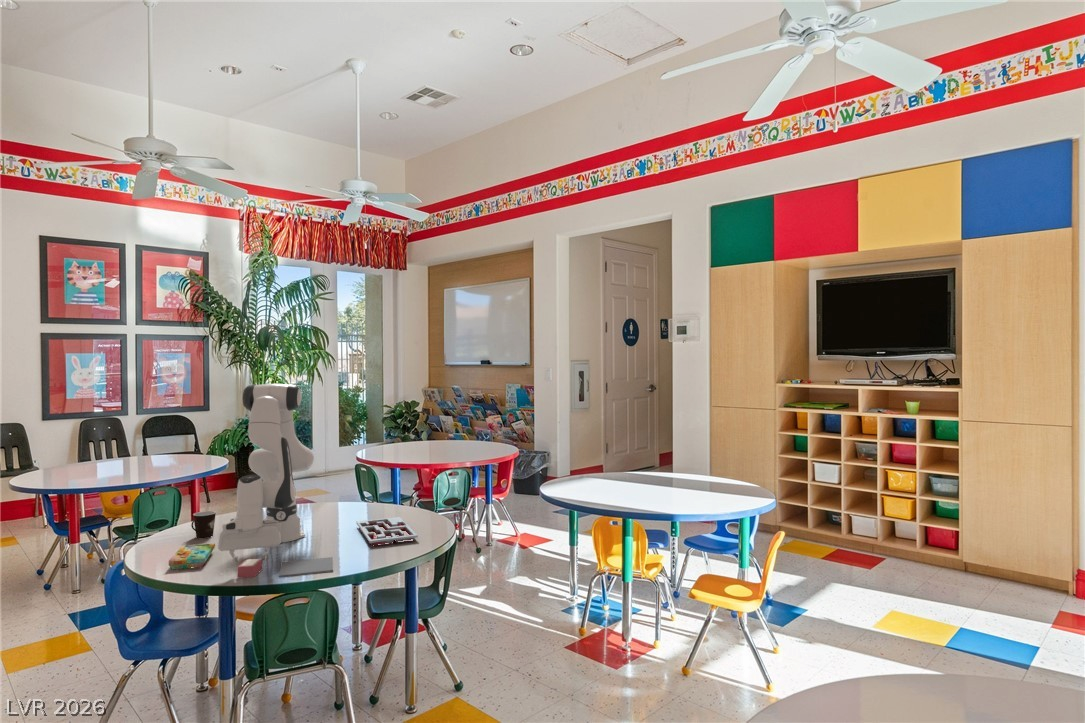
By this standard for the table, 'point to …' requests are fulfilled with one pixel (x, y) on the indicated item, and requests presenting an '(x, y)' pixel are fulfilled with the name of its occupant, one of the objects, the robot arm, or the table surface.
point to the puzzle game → (191, 556)
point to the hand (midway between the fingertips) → (250, 560)
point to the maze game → (395, 529)
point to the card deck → (250, 568)
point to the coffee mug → (204, 523)
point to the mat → (306, 567)
